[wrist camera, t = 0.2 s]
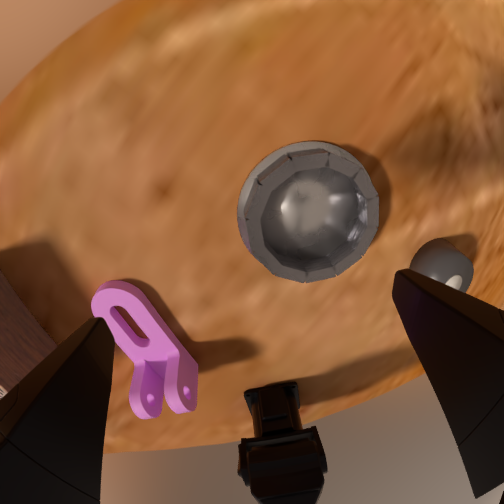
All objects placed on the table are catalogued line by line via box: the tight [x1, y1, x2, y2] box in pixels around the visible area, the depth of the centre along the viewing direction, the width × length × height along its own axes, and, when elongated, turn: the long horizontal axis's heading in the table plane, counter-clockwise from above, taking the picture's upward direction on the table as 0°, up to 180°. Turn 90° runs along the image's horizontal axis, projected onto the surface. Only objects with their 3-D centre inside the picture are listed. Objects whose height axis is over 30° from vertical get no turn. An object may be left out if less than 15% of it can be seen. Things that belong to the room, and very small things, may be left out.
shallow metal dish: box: [237, 141, 379, 283], centre depth 22 cm, size 11×11×2 cm
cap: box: [409, 238, 474, 293], centre depth 25 cm, size 6×6×4 cm
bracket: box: [91, 280, 198, 419], centre depth 24 cm, size 13×6×7 cm, turn 21°
